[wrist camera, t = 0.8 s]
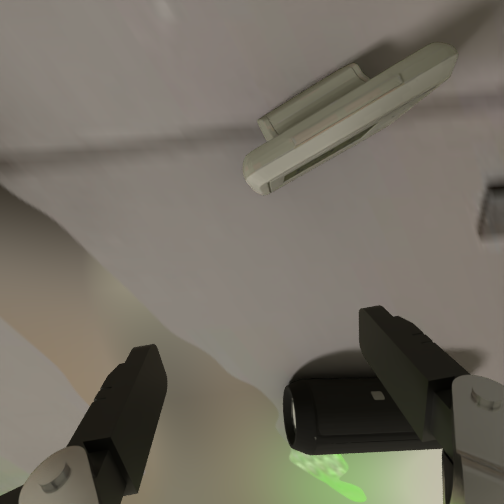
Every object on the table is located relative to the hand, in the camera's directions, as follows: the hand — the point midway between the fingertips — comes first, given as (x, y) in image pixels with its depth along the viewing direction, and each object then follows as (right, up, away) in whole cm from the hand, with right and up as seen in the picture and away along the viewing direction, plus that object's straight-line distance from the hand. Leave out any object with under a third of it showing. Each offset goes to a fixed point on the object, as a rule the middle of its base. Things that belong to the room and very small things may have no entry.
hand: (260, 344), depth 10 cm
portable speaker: (+18, -20, +36) cm, 44 cm away
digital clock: (+6, +16, +17) cm, 24 cm away
